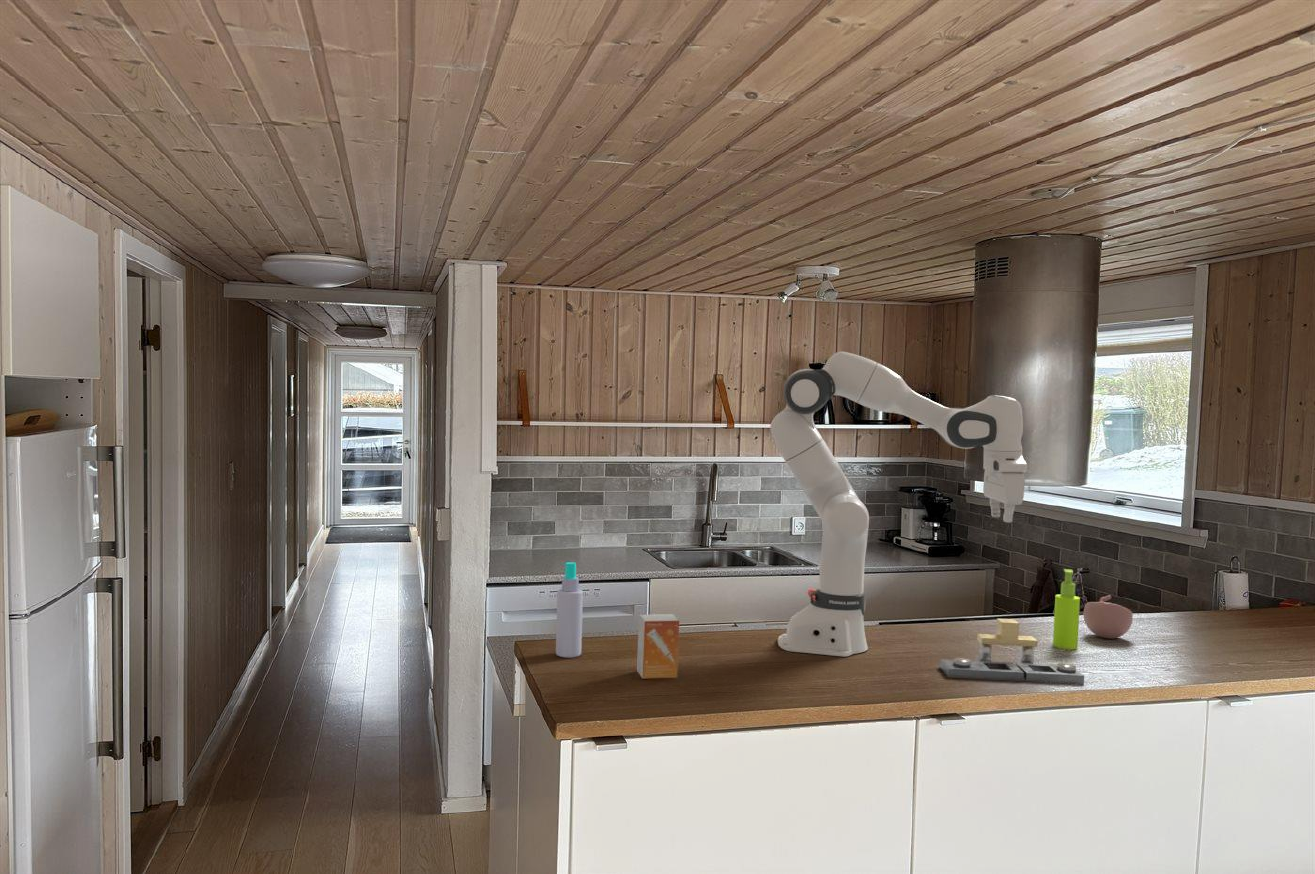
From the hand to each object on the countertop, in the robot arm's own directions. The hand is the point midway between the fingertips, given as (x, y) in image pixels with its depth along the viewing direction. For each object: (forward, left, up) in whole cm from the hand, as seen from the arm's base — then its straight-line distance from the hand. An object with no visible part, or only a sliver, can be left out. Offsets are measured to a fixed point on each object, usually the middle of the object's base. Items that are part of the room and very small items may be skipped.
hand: (1001, 519), depth 224 cm
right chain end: (+9, -12, -35) cm, 38 cm away
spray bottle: (-103, -13, -35) cm, 110 cm away
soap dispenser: (+23, +18, -35) cm, 45 cm away
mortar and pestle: (+38, +29, -35) cm, 59 cm away
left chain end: (-7, -12, -35) cm, 37 cm away
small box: (-81, -25, -35) cm, 92 cm away
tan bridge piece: (+2, -2, -35) cm, 35 cm away
